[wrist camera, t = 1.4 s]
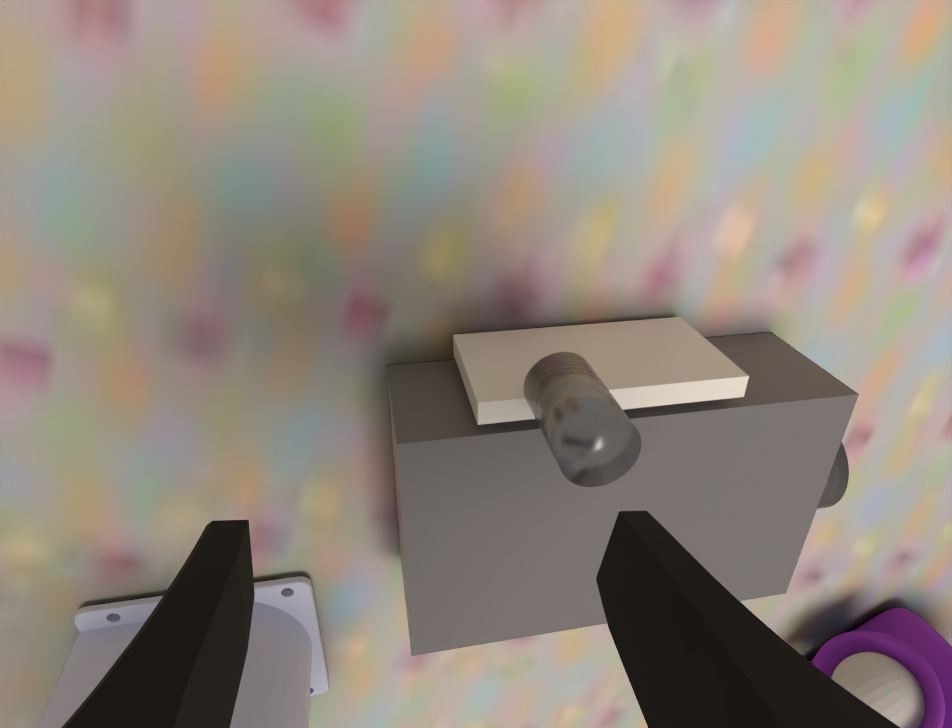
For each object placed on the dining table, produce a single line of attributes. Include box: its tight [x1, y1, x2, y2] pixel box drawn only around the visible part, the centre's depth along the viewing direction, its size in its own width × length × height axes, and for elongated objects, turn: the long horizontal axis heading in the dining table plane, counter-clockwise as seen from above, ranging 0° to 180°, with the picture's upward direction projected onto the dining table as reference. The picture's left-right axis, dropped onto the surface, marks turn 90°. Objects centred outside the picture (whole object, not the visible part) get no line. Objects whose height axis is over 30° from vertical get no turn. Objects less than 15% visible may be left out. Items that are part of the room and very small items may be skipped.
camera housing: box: [386, 332, 859, 656], centre depth 24 cm, size 18×10×5 cm, turn 89°
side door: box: [453, 317, 749, 487], centre depth 19 cm, size 9×2×8 cm, turn 89°
